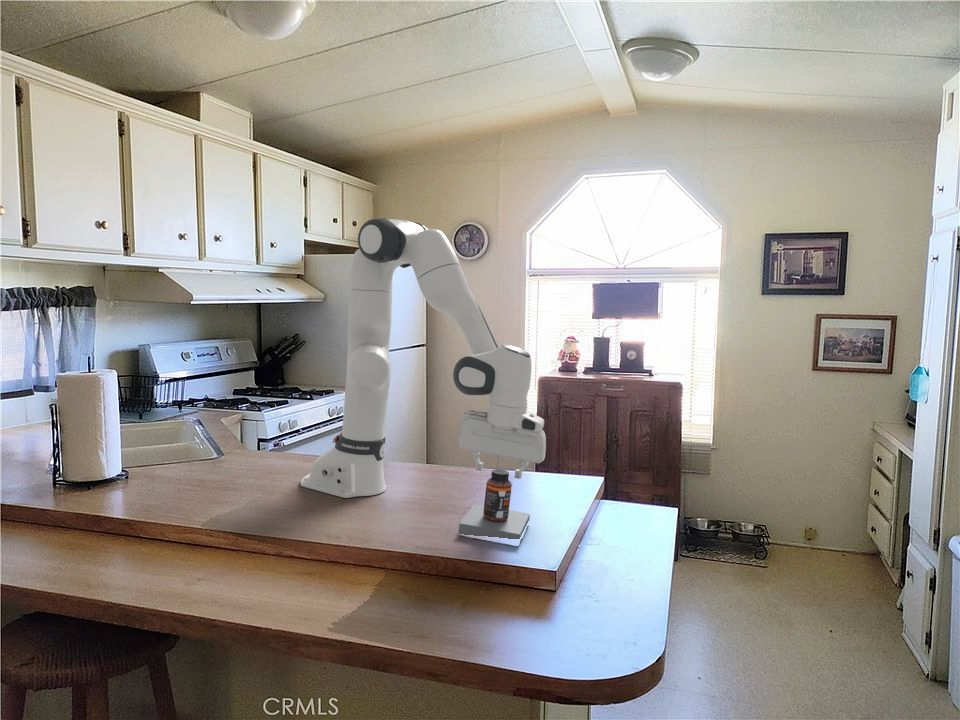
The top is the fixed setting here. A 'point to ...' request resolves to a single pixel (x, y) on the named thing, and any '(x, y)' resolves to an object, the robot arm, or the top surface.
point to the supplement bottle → (497, 496)
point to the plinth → (493, 524)
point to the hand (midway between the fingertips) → (498, 473)
